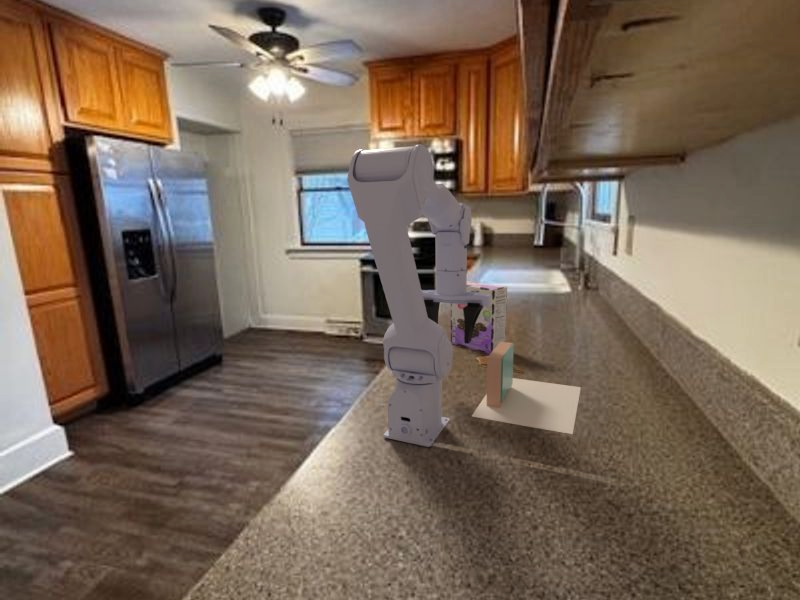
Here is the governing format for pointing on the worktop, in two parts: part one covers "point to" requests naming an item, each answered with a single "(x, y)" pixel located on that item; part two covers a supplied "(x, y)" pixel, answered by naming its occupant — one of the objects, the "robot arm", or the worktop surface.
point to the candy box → (482, 319)
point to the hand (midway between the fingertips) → (451, 340)
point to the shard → (483, 363)
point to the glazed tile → (499, 373)
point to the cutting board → (535, 406)
